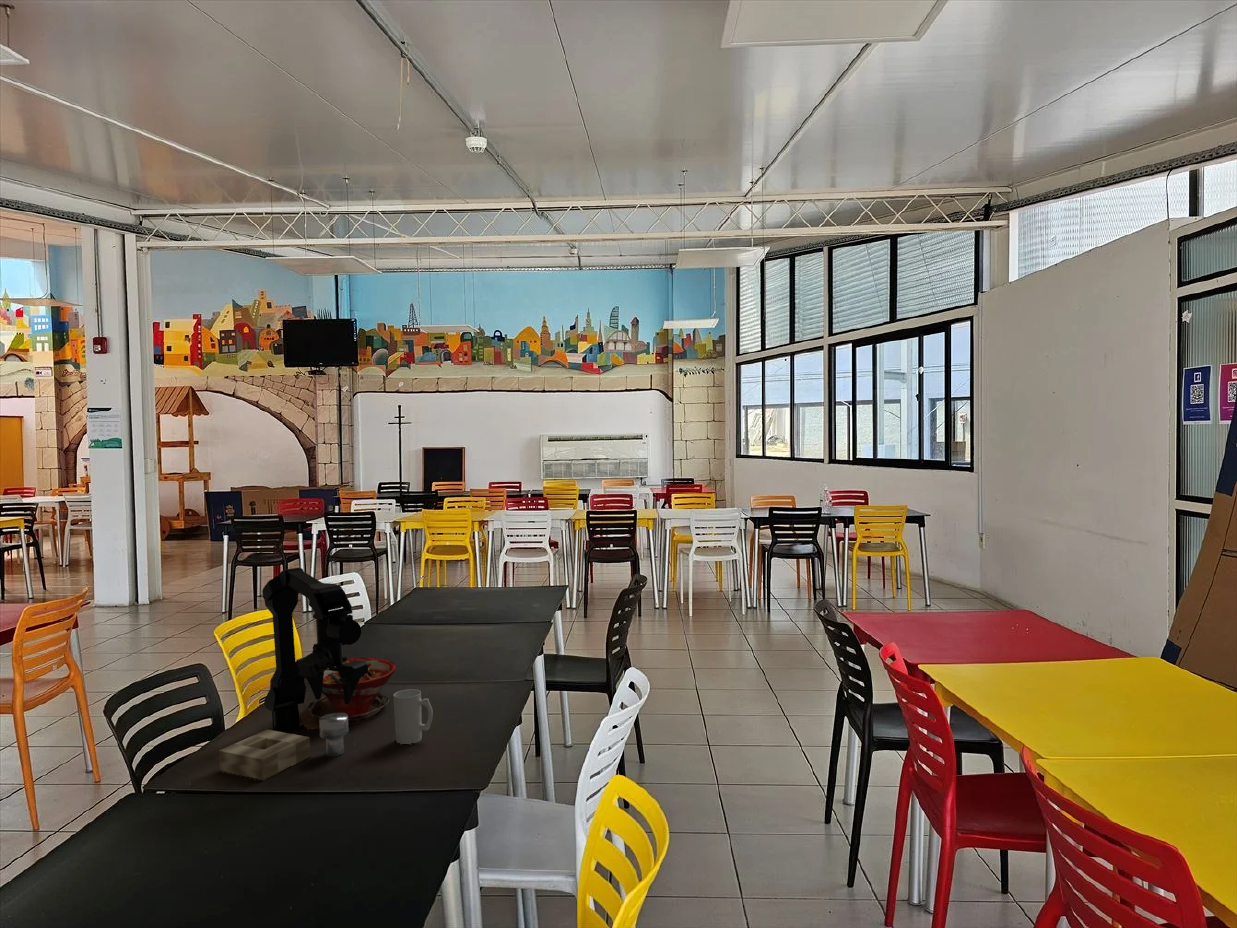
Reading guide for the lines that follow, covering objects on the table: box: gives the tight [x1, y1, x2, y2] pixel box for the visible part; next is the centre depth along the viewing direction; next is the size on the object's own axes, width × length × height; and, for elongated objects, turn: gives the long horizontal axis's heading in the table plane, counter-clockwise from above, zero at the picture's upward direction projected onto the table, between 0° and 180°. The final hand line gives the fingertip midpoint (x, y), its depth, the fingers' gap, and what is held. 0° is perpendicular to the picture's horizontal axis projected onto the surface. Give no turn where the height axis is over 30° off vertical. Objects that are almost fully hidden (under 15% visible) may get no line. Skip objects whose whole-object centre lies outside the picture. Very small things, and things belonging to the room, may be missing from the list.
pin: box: [319, 713, 349, 757], centre depth 200 cm, size 7×7×9 cm
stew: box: [300, 657, 397, 731], centre depth 228 cm, size 28×24×16 cm
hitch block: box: [218, 729, 311, 780], centre depth 194 cm, size 14×14×5 cm
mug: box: [393, 688, 434, 745], centre depth 207 cm, size 10×7×12 cm, turn 78°
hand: (332, 701), depth 199 cm, fingers open, 9 cm apart
